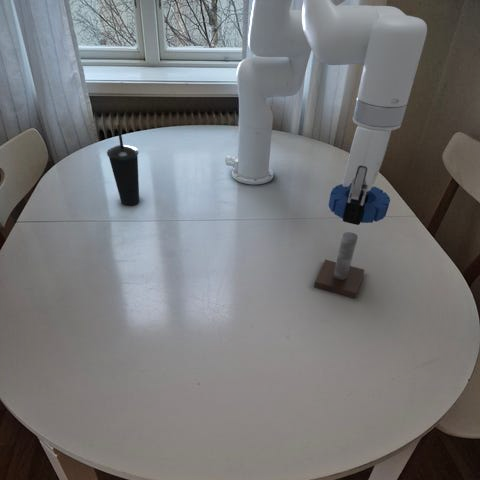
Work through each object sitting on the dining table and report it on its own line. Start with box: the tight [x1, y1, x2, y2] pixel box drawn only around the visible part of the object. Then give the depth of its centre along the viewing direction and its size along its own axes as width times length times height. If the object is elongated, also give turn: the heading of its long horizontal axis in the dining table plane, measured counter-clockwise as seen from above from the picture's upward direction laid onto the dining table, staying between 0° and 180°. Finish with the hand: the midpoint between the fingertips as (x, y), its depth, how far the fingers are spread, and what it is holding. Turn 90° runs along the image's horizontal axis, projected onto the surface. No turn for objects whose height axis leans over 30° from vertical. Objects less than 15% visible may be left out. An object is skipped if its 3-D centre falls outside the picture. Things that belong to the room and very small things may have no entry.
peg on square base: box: [313, 231, 365, 299], centre depth 91 cm, size 9×9×12 cm
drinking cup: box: [106, 124, 140, 207], centre depth 110 cm, size 8×8×20 cm
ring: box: [328, 183, 391, 224], centre depth 81 cm, size 11×11×3 cm
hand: (353, 217), depth 79 cm, fingers closed on ring, 3 cm apart
